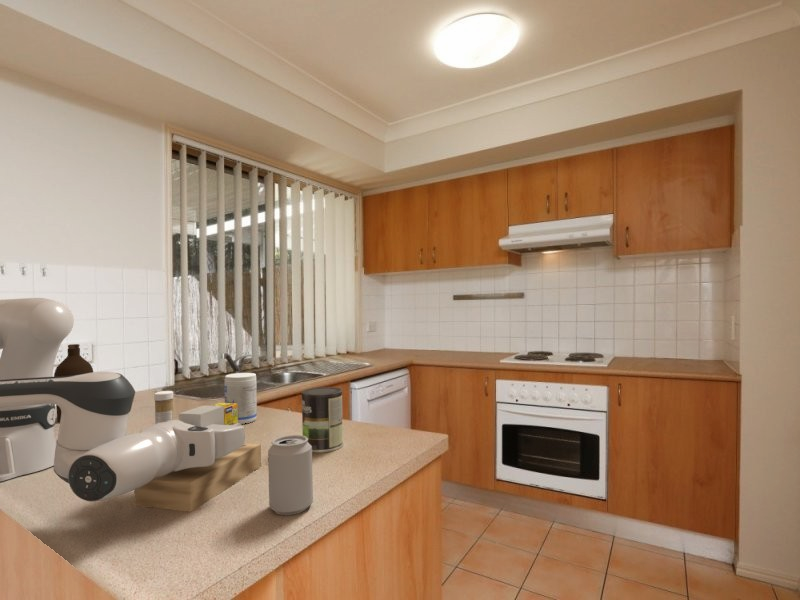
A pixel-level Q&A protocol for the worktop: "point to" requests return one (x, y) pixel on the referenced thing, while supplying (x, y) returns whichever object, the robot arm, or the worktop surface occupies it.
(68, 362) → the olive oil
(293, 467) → the can
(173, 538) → the worktop surface
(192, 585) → the worktop surface
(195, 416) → the block
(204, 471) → the plank
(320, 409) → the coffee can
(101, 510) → the worktop surface
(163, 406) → the sprinkles bottle
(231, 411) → the supplement box
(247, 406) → the supplement tub
